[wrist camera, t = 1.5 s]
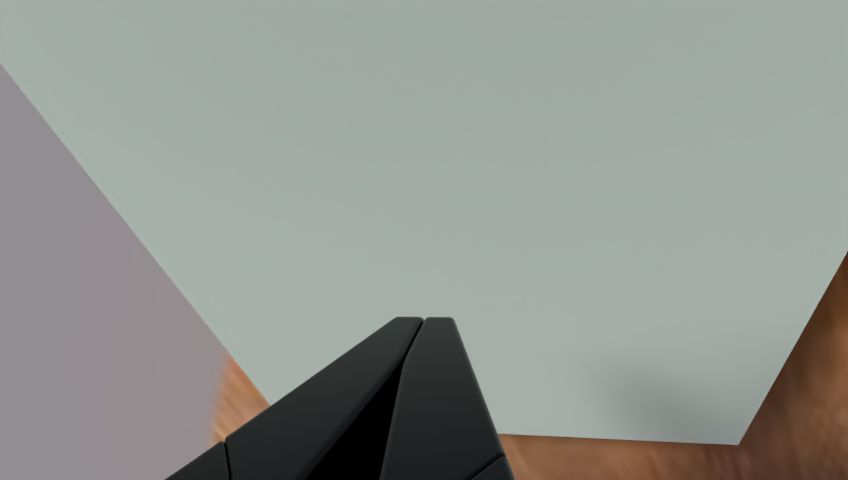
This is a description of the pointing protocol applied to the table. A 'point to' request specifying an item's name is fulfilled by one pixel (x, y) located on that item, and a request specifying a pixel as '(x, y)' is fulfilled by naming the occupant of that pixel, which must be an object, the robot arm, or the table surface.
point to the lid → (475, 184)
